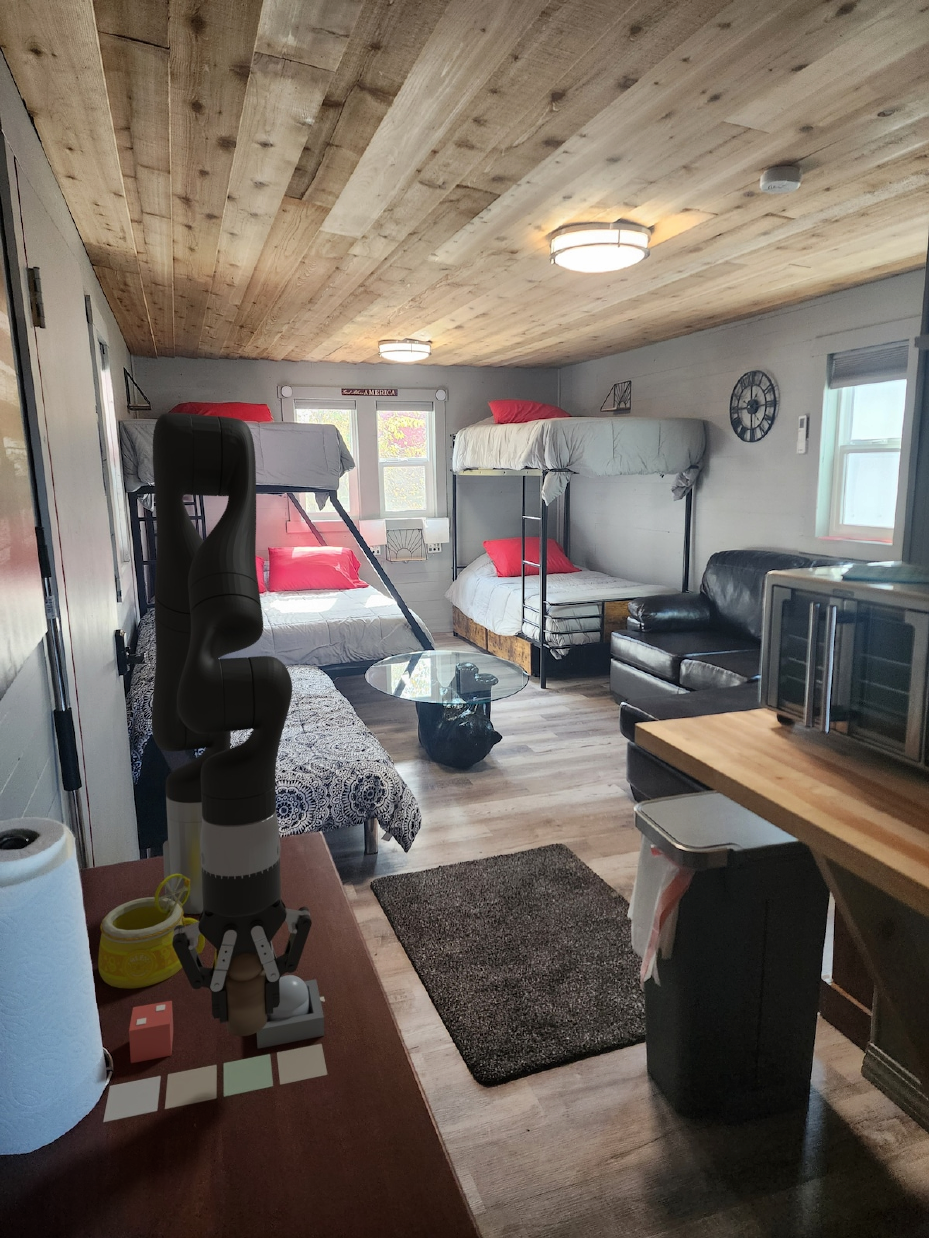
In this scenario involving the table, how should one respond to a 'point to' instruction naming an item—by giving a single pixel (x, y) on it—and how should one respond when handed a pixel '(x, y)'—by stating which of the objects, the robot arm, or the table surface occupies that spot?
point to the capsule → (291, 999)
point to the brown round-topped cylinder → (245, 995)
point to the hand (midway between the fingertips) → (246, 1013)
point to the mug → (143, 939)
